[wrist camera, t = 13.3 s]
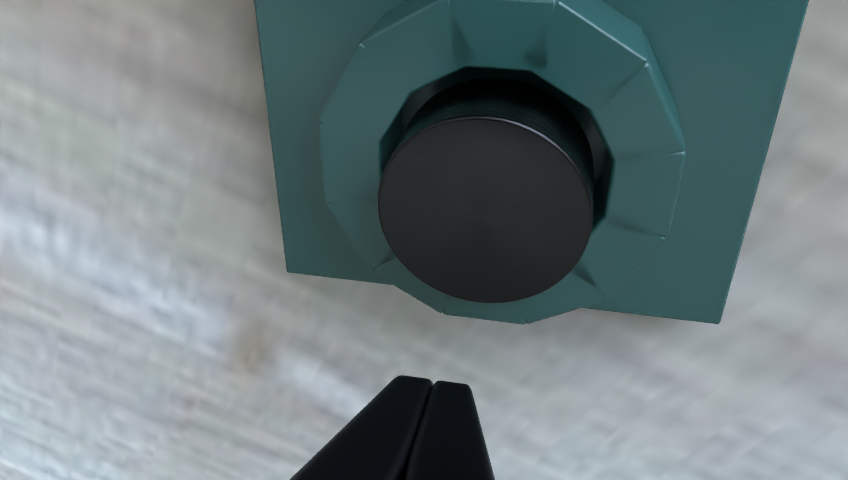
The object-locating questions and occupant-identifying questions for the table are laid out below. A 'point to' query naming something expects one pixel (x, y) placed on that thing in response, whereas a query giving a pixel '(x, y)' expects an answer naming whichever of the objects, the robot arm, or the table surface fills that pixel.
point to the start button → (489, 192)
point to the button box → (572, 86)
